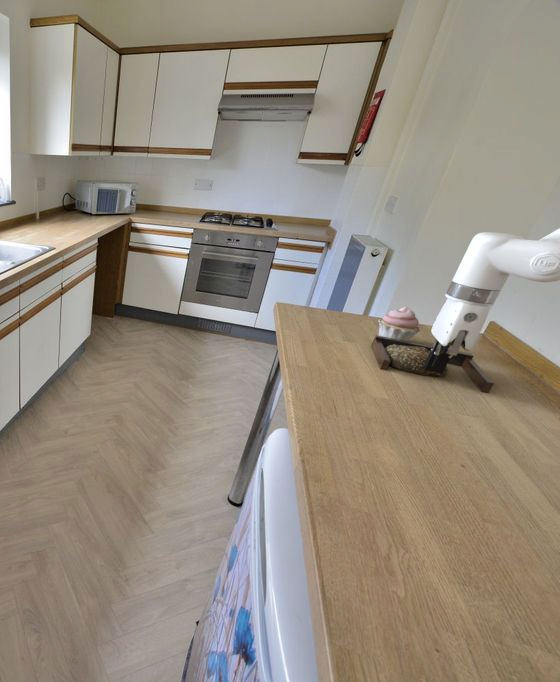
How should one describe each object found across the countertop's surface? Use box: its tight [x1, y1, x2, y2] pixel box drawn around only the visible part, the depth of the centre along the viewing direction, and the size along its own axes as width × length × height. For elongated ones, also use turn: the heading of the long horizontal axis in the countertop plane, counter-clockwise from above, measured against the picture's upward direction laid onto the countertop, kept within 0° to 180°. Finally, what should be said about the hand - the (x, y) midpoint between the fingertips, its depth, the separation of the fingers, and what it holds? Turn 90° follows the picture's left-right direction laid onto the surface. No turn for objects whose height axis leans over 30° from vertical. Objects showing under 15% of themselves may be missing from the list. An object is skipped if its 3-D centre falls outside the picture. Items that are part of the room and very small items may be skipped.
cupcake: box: [377, 306, 421, 342], centre depth 111 cm, size 9×9×10 cm
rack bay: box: [371, 334, 495, 394], centre depth 98 cm, size 19×16×3 cm
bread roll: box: [384, 344, 449, 378], centre depth 99 cm, size 13×12×5 cm
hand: (432, 369), depth 93 cm, fingers closed
